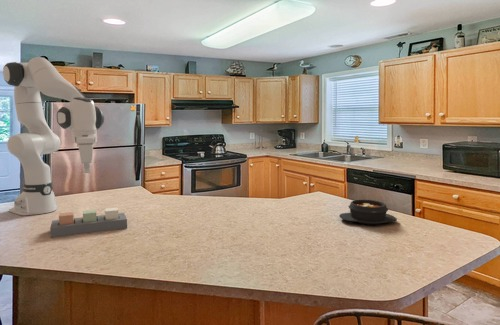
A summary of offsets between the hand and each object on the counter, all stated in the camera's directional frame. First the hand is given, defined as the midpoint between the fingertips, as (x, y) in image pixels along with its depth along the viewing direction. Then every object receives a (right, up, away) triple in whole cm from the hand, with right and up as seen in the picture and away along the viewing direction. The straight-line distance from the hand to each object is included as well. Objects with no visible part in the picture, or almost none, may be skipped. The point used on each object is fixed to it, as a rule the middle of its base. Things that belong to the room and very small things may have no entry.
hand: (87, 172), depth 142 cm
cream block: (+8, -21, +6) cm, 23 cm away
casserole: (+120, -23, +15) cm, 123 cm away
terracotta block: (-8, -22, -1) cm, 23 cm away
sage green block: (0, -21, +3) cm, 22 cm away
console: (0, -24, +3) cm, 24 cm away
